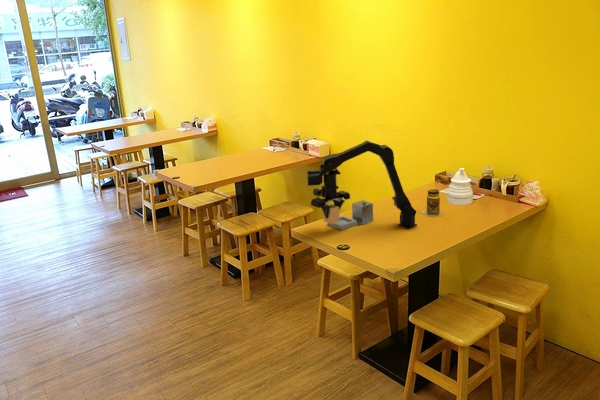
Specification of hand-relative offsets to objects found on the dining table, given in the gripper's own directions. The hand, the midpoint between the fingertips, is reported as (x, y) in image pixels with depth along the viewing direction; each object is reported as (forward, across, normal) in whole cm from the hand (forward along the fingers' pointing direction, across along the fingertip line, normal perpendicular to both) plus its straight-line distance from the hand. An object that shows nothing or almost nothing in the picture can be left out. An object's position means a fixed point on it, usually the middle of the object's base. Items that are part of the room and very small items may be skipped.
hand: (331, 216), depth 232 cm
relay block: (+2, 0, 0) cm, 2 cm away
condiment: (+8, -51, +16) cm, 54 cm away
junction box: (+7, -20, 0) cm, 21 cm away
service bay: (+7, -9, -3) cm, 12 cm away
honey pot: (+8, -75, +14) cm, 77 cm away
